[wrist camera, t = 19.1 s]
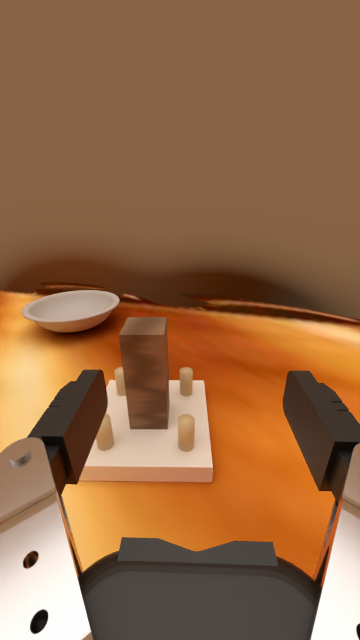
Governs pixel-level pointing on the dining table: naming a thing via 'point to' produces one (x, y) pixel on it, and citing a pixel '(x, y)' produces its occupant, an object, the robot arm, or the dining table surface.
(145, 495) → the dining table surface
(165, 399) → the walnut post
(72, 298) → the soup bowl
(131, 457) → the peg stand
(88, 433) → the robot arm
